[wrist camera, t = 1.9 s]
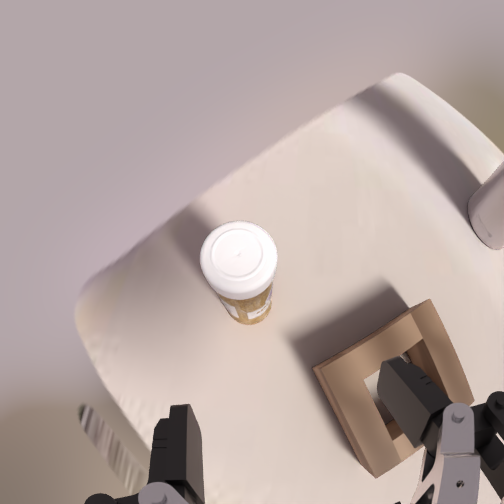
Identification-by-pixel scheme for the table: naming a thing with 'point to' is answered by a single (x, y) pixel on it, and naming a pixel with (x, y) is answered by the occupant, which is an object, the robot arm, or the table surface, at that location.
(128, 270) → the table surface
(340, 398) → the walnut bottle stand
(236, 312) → the sprinkles bottle
